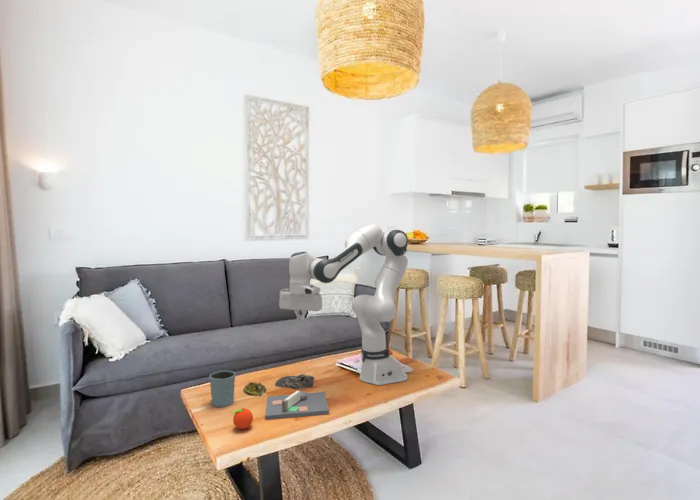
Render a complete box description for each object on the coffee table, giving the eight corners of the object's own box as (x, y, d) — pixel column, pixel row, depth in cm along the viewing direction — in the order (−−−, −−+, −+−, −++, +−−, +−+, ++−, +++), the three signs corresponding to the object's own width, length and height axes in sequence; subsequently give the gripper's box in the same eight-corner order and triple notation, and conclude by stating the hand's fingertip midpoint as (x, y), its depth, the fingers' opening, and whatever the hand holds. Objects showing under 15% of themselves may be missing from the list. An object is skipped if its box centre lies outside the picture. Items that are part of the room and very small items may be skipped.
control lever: (299, 395, 171) (299, 386, 171) (308, 396, 169) (308, 387, 169) (279, 410, 157) (278, 400, 157) (288, 412, 155) (288, 402, 155)
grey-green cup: (209, 400, 172) (208, 372, 171) (234, 396, 176) (233, 368, 175) (211, 410, 162) (210, 380, 162) (237, 405, 166) (236, 376, 166)
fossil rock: (320, 386, 185) (311, 376, 199) (320, 378, 185) (311, 368, 198) (279, 394, 178) (272, 382, 192) (279, 385, 178) (272, 374, 191)
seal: (239, 390, 186) (251, 401, 173) (238, 380, 185) (249, 390, 173) (259, 383, 191) (271, 393, 178) (257, 373, 190) (270, 383, 178)
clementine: (231, 435, 142) (231, 415, 142) (229, 426, 148) (228, 407, 148) (254, 430, 145) (254, 410, 145) (251, 421, 152) (250, 403, 151)
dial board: (324, 395, 174) (324, 391, 174) (329, 413, 157) (328, 409, 157) (267, 399, 171) (267, 396, 171) (265, 419, 153) (265, 415, 153)
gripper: (275, 288, 181) (276, 319, 181) (317, 290, 173) (317, 323, 173) (283, 286, 186) (284, 316, 187) (323, 288, 179) (324, 319, 179)
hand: (300, 319), depth 180 cm, fingers closed
